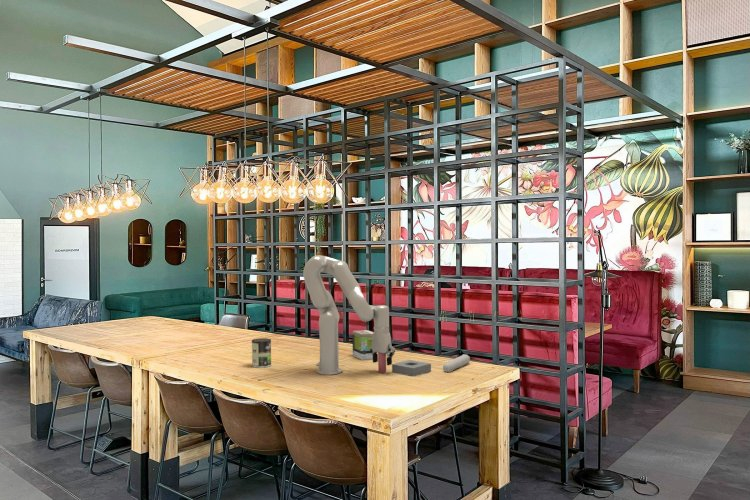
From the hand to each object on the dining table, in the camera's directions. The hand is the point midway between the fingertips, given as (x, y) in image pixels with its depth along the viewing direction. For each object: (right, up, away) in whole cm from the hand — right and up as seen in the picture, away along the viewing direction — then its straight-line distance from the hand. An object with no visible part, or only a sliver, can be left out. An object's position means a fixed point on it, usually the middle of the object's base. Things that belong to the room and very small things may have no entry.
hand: (382, 363), depth 293 cm
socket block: (+15, -4, 0) cm, 16 cm away
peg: (0, -4, 0) cm, 4 cm away
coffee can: (-65, -5, +19) cm, 68 cm away
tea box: (-10, -4, +38) cm, 39 cm away
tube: (+39, -4, +8) cm, 40 cm away
